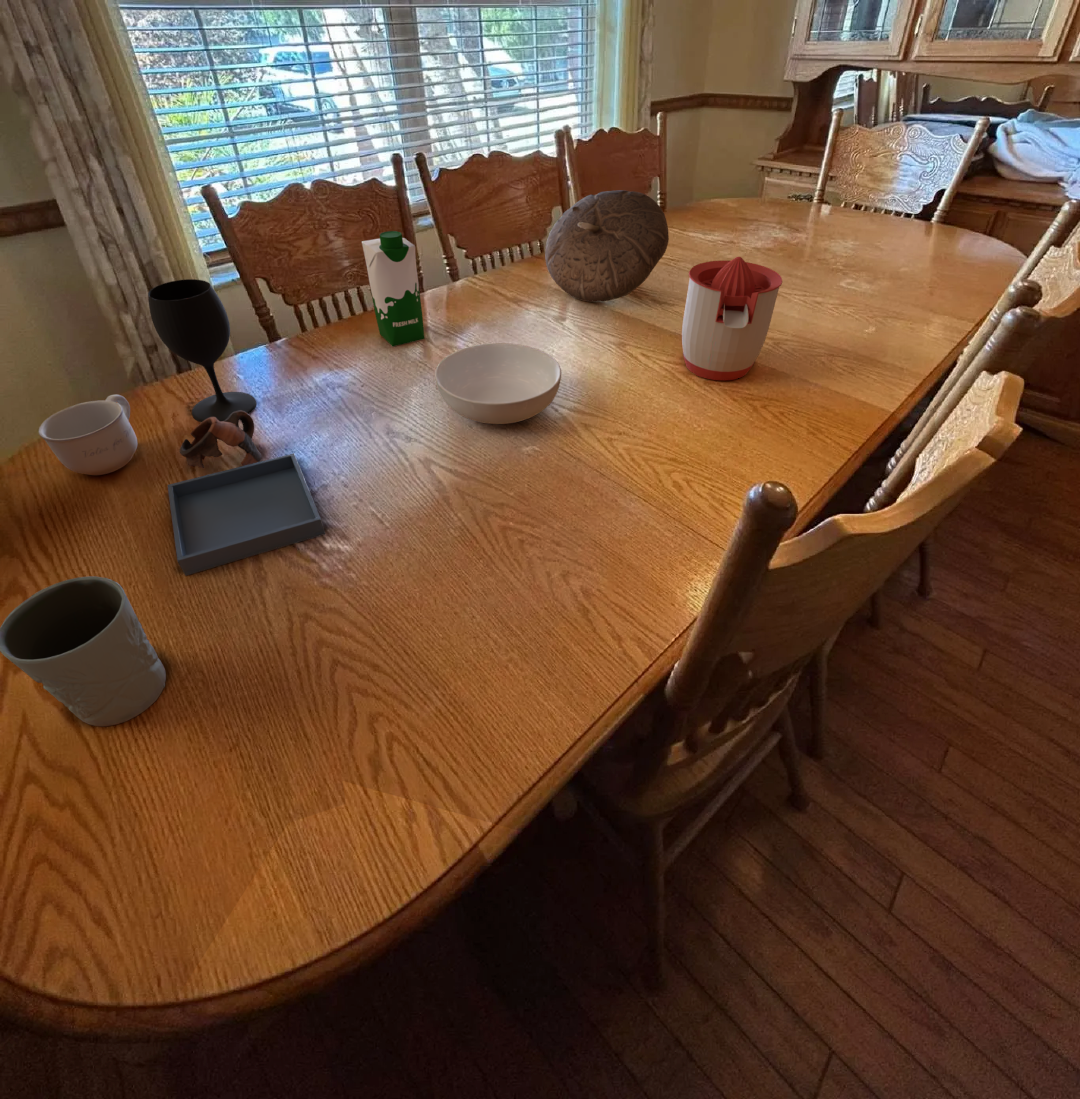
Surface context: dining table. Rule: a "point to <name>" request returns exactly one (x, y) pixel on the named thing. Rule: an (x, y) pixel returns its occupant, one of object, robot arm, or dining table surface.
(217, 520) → the dark gray rectangular tray
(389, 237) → the milk carton
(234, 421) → the broken clay jug
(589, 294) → the brown fungus
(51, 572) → the dining table surface
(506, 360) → the serving bowl
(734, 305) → the citrus juicer
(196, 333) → the wine glass
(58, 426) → the teacup
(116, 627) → the gray ceramic cup
